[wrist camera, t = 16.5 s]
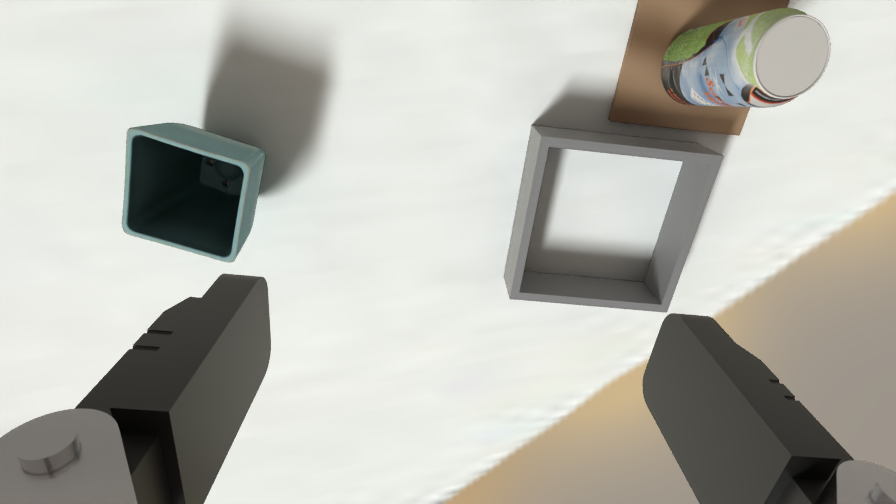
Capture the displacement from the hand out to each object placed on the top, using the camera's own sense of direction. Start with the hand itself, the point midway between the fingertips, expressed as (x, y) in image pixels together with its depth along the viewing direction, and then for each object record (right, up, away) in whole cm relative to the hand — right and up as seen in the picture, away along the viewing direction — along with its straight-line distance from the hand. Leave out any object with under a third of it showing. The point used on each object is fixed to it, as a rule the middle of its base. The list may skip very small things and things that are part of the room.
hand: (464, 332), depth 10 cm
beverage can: (+20, +18, +31) cm, 42 cm away
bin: (+14, +5, +38) cm, 41 cm away
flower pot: (-21, +10, +35) cm, 42 cm away
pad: (+21, +18, +32) cm, 42 cm away
